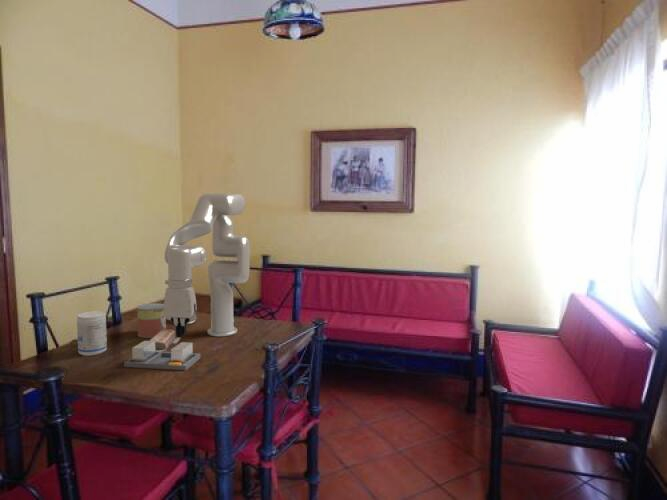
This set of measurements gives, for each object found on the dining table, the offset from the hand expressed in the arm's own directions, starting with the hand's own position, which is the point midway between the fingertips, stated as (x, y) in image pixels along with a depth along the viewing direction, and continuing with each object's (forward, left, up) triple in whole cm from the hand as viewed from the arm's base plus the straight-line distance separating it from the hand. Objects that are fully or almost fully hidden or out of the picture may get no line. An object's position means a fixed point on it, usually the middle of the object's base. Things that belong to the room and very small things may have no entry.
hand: (181, 336), depth 155 cm
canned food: (-33, -29, -11) cm, 46 cm away
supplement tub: (-8, -39, -11) cm, 41 cm away
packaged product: (-19, -17, -11) cm, 28 cm away
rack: (0, -7, -11) cm, 13 cm away
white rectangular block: (0, 0, -10) cm, 10 cm away
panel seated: (0, -14, -10) cm, 17 cm away
